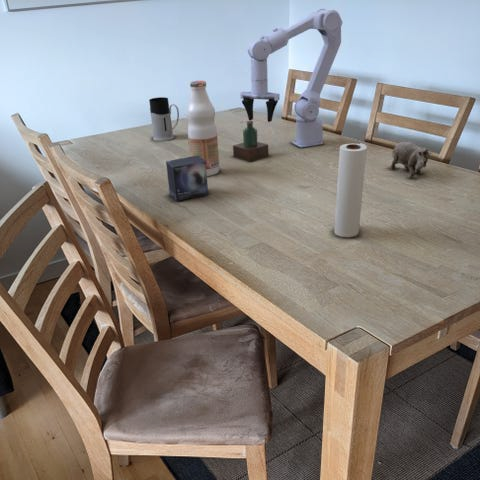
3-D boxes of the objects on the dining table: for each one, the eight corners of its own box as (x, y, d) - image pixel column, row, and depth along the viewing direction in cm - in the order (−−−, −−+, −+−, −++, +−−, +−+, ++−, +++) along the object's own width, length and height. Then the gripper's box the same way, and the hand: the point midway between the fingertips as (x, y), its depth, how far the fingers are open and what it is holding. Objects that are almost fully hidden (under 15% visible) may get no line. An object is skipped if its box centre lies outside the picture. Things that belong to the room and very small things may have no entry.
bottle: (254, 142, 183) (253, 119, 178) (259, 145, 179) (259, 122, 174) (241, 144, 181) (240, 121, 177) (246, 147, 177) (245, 124, 173)
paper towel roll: (342, 240, 123) (349, 151, 111) (329, 230, 128) (334, 145, 115) (367, 233, 125) (376, 146, 113) (353, 225, 130) (361, 140, 118)
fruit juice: (191, 177, 166) (181, 85, 150) (192, 168, 174) (183, 80, 158) (219, 176, 166) (213, 83, 150) (219, 167, 174) (213, 78, 158)
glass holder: (163, 134, 213) (158, 96, 205) (188, 138, 206) (184, 99, 198) (148, 139, 208) (142, 100, 199) (174, 143, 201) (169, 103, 192)
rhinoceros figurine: (405, 155, 167) (423, 123, 153) (422, 189, 163) (442, 159, 149) (384, 160, 166) (400, 128, 152) (400, 194, 162) (418, 165, 147)
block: (251, 151, 187) (251, 140, 185) (268, 155, 182) (268, 144, 179) (233, 156, 183) (232, 145, 181) (249, 161, 177) (249, 150, 175)
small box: (176, 202, 149) (172, 166, 143) (169, 195, 153) (164, 161, 148) (209, 194, 152) (206, 160, 146) (200, 188, 157) (197, 154, 151)
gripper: (235, 80, 175) (237, 121, 183) (273, 82, 169) (273, 124, 177) (244, 77, 180) (246, 117, 188) (282, 78, 174) (282, 119, 182)
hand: (260, 120), depth 183 cm, fingers open, 7 cm apart
